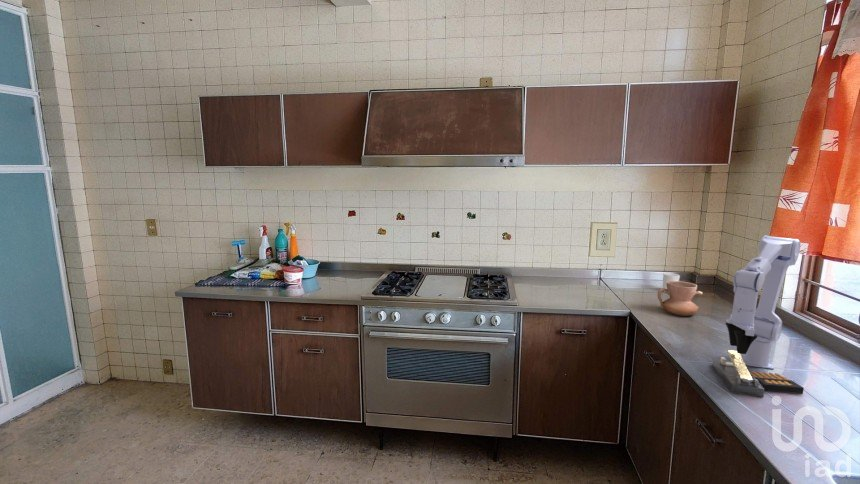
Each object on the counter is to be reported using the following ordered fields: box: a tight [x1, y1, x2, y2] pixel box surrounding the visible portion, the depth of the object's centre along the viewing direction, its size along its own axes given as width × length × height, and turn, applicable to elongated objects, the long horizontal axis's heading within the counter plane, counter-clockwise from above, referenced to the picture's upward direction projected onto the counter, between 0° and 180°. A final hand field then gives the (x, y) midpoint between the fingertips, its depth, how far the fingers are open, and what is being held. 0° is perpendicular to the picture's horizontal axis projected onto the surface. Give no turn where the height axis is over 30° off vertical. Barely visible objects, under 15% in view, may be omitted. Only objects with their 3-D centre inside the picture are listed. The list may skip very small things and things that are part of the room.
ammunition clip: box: [750, 370, 805, 394], centre depth 133 cm, size 11×2×12 cm
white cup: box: [662, 272, 681, 289], centre depth 232 cm, size 8×8×10 cm
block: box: [711, 357, 766, 398], centre depth 134 cm, size 19×8×4 cm, turn 161°
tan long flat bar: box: [727, 349, 753, 384], centre depth 132 cm, size 15×3×1 cm, turn 161°
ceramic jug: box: [657, 280, 703, 317], centre depth 197 cm, size 18×14×14 cm
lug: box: [719, 356, 734, 367], centre depth 139 cm, size 2×6×2 cm, turn 72°
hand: (737, 349), depth 135 cm, fingers open, 6 cm apart
